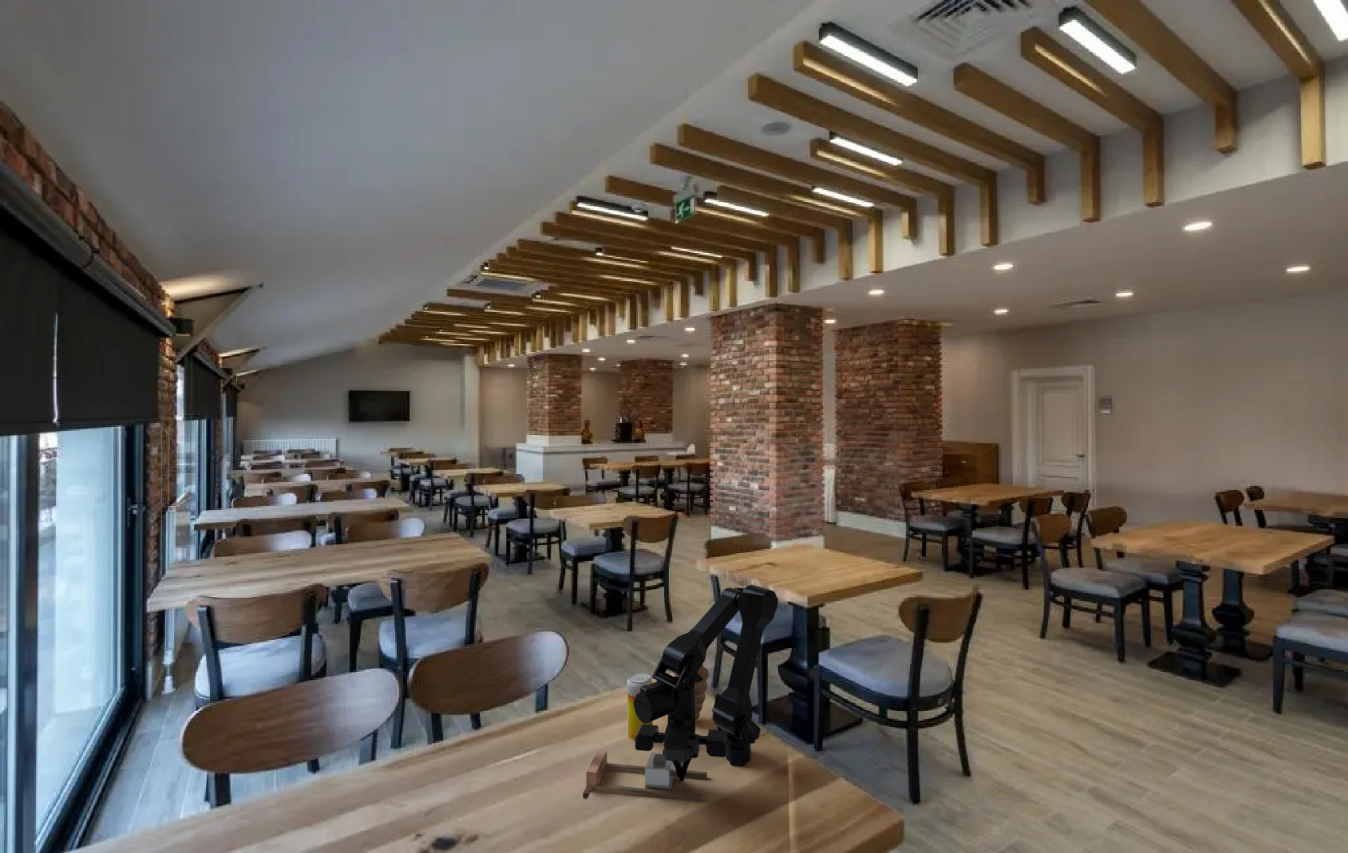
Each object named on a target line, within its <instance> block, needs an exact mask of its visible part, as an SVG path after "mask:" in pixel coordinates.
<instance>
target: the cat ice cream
mask: <svg viewBox="0 0 1348 853" xmlns="http://www.w3.org/2000/svg"><path fill="white" fill-rule="evenodd" d="M697 673H698V674H699V675H700V676H701V677H703V680H702V681H700V682H697V683H695V722H696V721H697V720H698V719H699V718H700V716H701V712H702V709H703V706H704V702H705V700H706V692H707V689H708V682H707V680H708V679H709V677H710V672H709V670H708V669H707V668H706V667H705V666H704V663H703V664H702V666H701V667H700V669H699V670H698V672H697ZM675 676H678V674H676V673H674V677H675Z"/></svg>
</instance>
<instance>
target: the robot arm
mask: <svg viewBox="0 0 1348 853" xmlns="http://www.w3.org/2000/svg"><path fill="white" fill-rule="evenodd" d="M778 605H779V598H778V596H777V594H776V592H775V591H774V590H773V589H769V588H766V587H762V586H760V585H759V586H758V585H755V584H748V585H747V586H746V587H727V588H724V589H723V590H722V592H721V595H720V597H719V598H718V599H717V600H716V601H715V602H714V604H713V605H712V606H711V607H709V609H708V610H707V611H706V613H705V614H704V615H703V616H702V617H701V618H700V619H699V620H698V622H697V623H696V624H695V625H694V626H693V628H691V629H690V630H689V631H688V632H686V633H684V634H681V635H678V636H676V638H674V639H673V640H672V641H670V642H669V643H668V644H667V645H666V646H665V648H664V649H663V651H662V655H661V657H660V658H659V662H658V664H657V665H656V667H655V670H654V672H653V674H652V677H651V679H652V680H655V682H652V684H649V685H644V686H641V687H640V693H638V694H637V695H636V697H635V700H634V709H635V712H636V715H637V717H638V718H639V720H640V721H641V722H642V723H645V724H642V725H641V726H640V727H639V730H638V732H637V734H636V737H635V741H634V749H635V750H636V751H642V752H650V751H651V750H652V749H654V747H655V746H654V743H659V744H662V746H663V750H662V753H663V755H664V756H665V759H666V760H668V761H672V762H673V764H674V769H676V772H677V775H678V777H677V778H678V779H679V782H682V783H684V781H685V775H686V772H687V770H688V768H689V766H690V763H691V761H692V760H693V759H697V758H698V757H699V754H700V748H701V747H706V748H705V750H706V751H705V752H706V753H707V754H708V756H709V757H713V758H715V757H716V758H725V759H726V760H727V761H728V762H729V764H730V766H731V767H738V768H739V767H742V768H743V767H744V766H746V764H747V763H749V762H750V761H751V759H752V744H756V741H757V740H758V739H760V734H761V731H762V730H761V729H762V728H761V727H760V726H758V724H757V723H755V722H754V720H753V719H752V718H753V712H754V707H753V704H752V699H751V696H750V691H751V687H752V683H753V678H754V675H755V669H756V666H757V661H758V657H759V653H760V648H761V643H762V638H763V634H764V631H765V628H767V626H768V625H769V624H770V623H771V622H772V621H773V620H774V617H775V616H776V615H775V614H776V611H777V609H778ZM738 612H739V615H740V617H741V618H740V619H741V623H742V624H741V628H740V631H739V632H740V633H739V637H738V641H737V646H736V650H735V654H734V659H733V663H732V667H731V670H730V676H729V679H728V685H727V688H725V690H724V691H723V692H722V693H717V694H716V695H715V698H714V704H713V707H712V709H711V713H712V721H713V722H714V725H715V726H716V729H708V732H707V735H701V734H700V733H696V721H695V683H697V682H700V681H702V680H703V677H701V676H700V675H699V674H698V673H697V672H698V670H699V669H700V667H701V666H702V664H703V665H704V663H705V661H706V657H707V650H708V649H709V647H710V646H711V644H713V642H714V641H715V640H716V638H717V637H718V636H720V634H721V633H722V632H723V630H724V629H725V628H726V626H728V625H729V623H730V622H731V621H732V620H733V619H734V617H736V615H737V614H738ZM667 671H669V672H672V673H673V674H675V673H676V674H678V676H675V675H671V674H669V673H667ZM666 716H667V724H666V727H665V730H664V732H660V730H659V725H657V724H656V725H655V724H653V725H647V724H646V723H649V722H652V721H656V720H658V719H660V718H662V717H666Z"/></svg>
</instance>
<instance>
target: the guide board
mask: <svg viewBox="0 0 1348 853" xmlns="http://www.w3.org/2000/svg"><path fill="white" fill-rule="evenodd" d="M645 767H646V766H644V765H630V764H622V763H611V762H610V763H609V762H608V750H606V749H604V750H603V749H597V751H596V753H595V755H594V756H593V758H592V761H591V762H590V764H589V766H588V768H587V770H586V775H585V776H586V780H585V781H586V782H585V783H586V785H585V789H584V790H583V793H582V798H583V799H588V798H589V796H590V794H591V792H596V793H597V792H598V793H608V794H617V795H626V796H628V795H629V796H639V797H648V798H659V799H668V800H677V801H687V802H699V803H703V800H704V798H703V796H704V794H703V793H701V794H700V793H696V792H695V793H693V792H692V793H691V792H684V791H683V792H681V791H674V790H673V791H672V790H671V791H664V790H654V789H645V787H644V788H643V787H642V788H641V787H634V786H632V787H631V786H622V785H614V784H613V785H611V784H601V781H602V780H603V779H604V776H605V773H606V772H607V771H613V772H623V773H633V774H644V775H645ZM674 778H678V775H677V772H676V769H675V768H674ZM685 778H687V779H696V780H707V779H708V772H707V771H706V772H705V771H697V770H688V769H687V772H686V775H685ZM685 778H684V779H685Z"/></svg>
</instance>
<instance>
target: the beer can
mask: <svg viewBox="0 0 1348 853" xmlns="http://www.w3.org/2000/svg"><path fill="white" fill-rule="evenodd" d="M652 683H653V679H652V677H651V675H649V674H648V673H644V672H635V673H631V674H630V675H629V676H628V678H627V681H626V710H627V711H626V716H627V718H626V720H627V722H626V723H627V725H626V726H627V727H626V729H627V730H626V731H627V732H626V733H627V738H628V739H630V740H632V741H634V742H635V737H636V734H637V732H638V730H639V727H640V726H641V725H642V724H645V723H642V722H641V721H640V720H639V718H638V717H637V715H636V712H635V709H634V700H635V697H636V695H637V694H638V693H640V687H641V686H644V685H649V684H652ZM653 723H654V722H653V721H652V722H649V723H646V724H647V725H654V724H653Z"/></svg>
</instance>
